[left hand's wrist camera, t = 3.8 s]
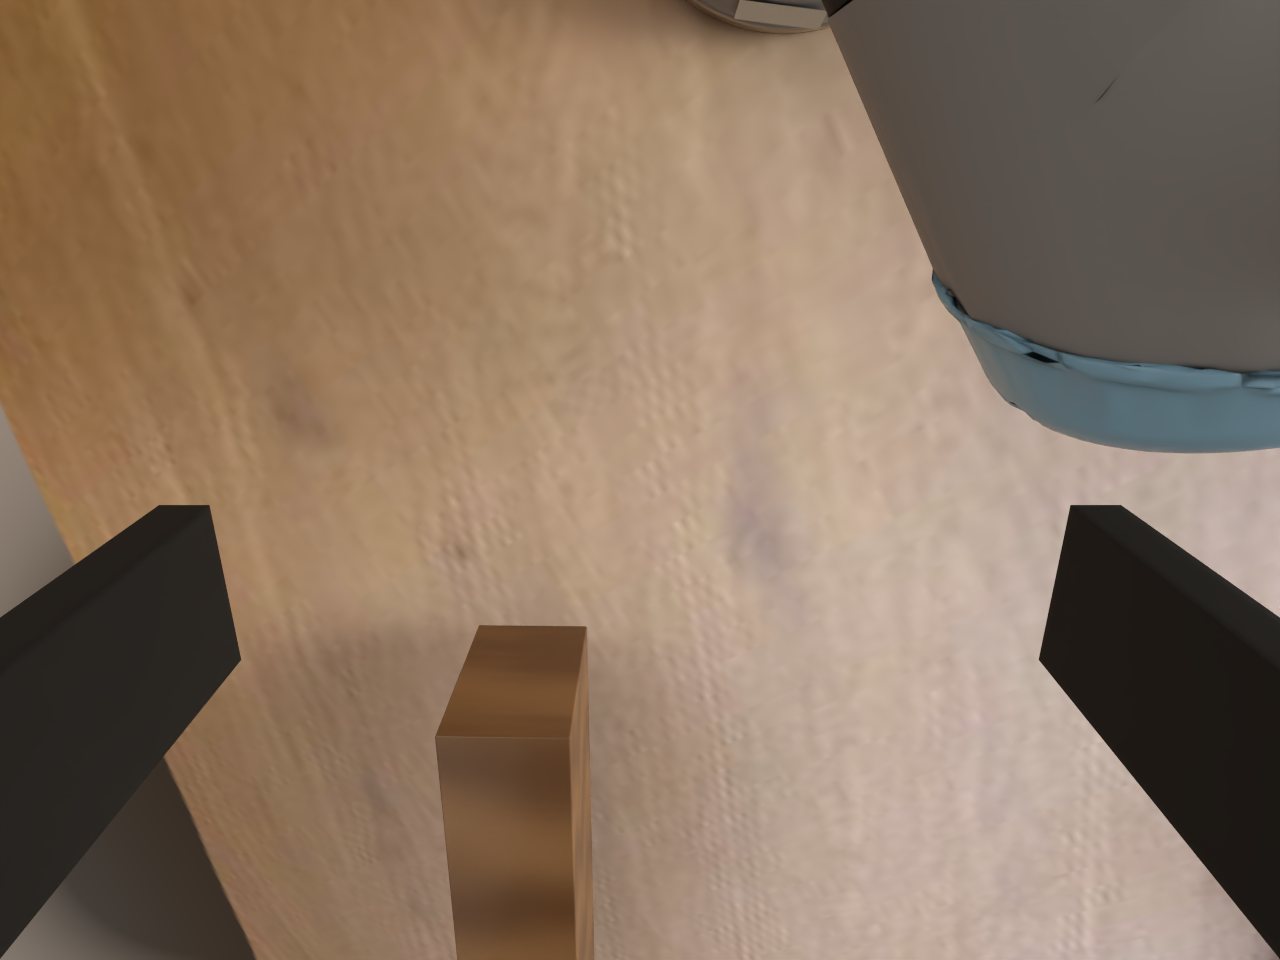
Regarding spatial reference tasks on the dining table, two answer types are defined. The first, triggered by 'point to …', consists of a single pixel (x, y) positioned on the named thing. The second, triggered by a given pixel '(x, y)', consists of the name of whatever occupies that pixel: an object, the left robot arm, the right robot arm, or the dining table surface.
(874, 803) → the dining table surface
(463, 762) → the bar
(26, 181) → the dining table surface
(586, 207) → the dining table surface
